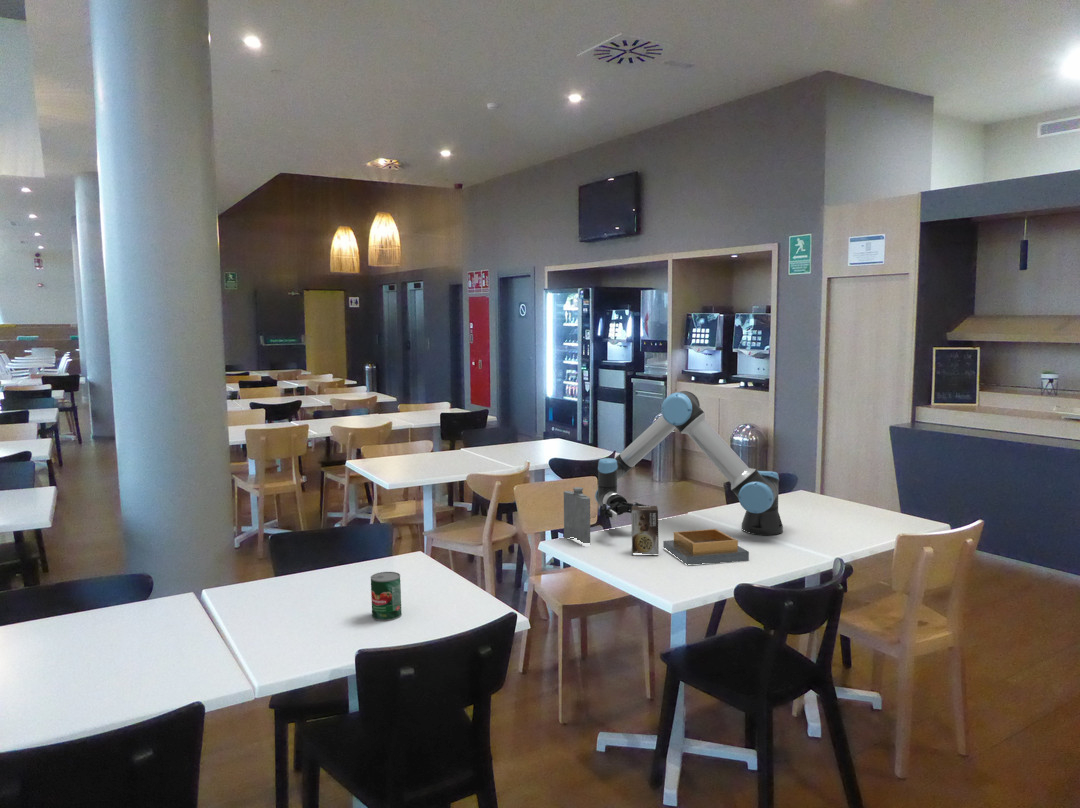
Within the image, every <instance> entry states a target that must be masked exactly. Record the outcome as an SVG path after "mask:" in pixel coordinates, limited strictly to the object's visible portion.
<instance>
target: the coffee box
mask: <svg viewBox="0 0 1080 808" xmlns="http://www.w3.org/2000/svg"><path fill="white" fill-rule="evenodd" d="M630 514H631V554H632V553H642V554H659V548H660V547H659V507H658V506H657V505H649V506H648V505H647V506H632V507H631V513H630ZM659 555H660V554H659Z"/></svg>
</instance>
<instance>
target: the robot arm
mask: <svg viewBox="0 0 1080 808" xmlns="http://www.w3.org/2000/svg"><path fill="white" fill-rule="evenodd" d="M660 411H661V416H659V417H657V419H656V420H655V421H654V422H653V423H652V424H650V426H648V427H647V428H646V429H645V430H644V431H643V432H642V433H641V434H640V435H639V436H638V437H637V438H635V439H634V440H633V441H632V442H631V443H630V444H629V445H628V446H626V448H625V449H623V450H622V451H621V453H619V454H618V455H617V456H616V457H614V458H611V457H610V458H609V457H605V458H600V459H599V460H598V464H597V472H598V473H597V478H598V479H597V484H598V485H597V490H596V491H595V494H594V496H595V497H594V498H595V500H596V502H597V503H598V505H599V506H601V509H600V517H605V519H607V520H609V519H611V520H613V521H614V522H618V516H621V515H623V514H626V513H627V514H632V513H631V507H632V506H650V505H647V504H644V503H643V504H642V503H638V502H636V501H635V502H633V503H632V502H628V500H627V499H626V498H625V497H624V496H622V495H621V494H619V493H618V479H620V478H622V477H624V476H626V475H627V474H628V473H629V471H630V470H632V469H633V467H634V466H635V465H637V464H638V463H639V462H640V461H642V459H644V457H646V456H647V455H648V454H649V453H650V452H651V451H652V450H654V449H655V447H657V446H658V445H659V444H660V443H662V441H663V440H665V439H666V438H667V436H669V435H670V434H671V433H672V432H673V431H675V429H677V431H679V433H680V434H681V435H682V434H683V435H684V434H685V435H687V436H688V437H689V438H690V439H691V440H692V441H693V443H694V444H695V445H697V447H698V448H699V449H700V450H701V452H702V453H704V454H705V456H706V457H707V458H708V459H709V460H710V462H712V463H713V465H714V466H715V467H716V468H717V469H718V471H720V473H722V475H723V476H724V477H725V478H726V479H727V480H728V482H729V483H730V490H731V491H732V492H733V494H735V496H736V497H737V499H738V501H739V504H740V505H741V508H743V509H744V510H745V514H744V516H743V520H742V522H741V530H742V529H743V530H745V531H747V532H750V533H749V534H751V533H754V534H753V535H757V534H762V535H761V536H774V534H776V535H780V534H782V533H783V532H784V527H783V526H784V525H783V522H782V520H781V516H780V513H779V483H780V482H779V481H780V478H779V473H778V472H776V471H772V470H770V471H769V470H758V469H756V468H750V467H749V466H748V465H747V464H746V463H745V462H744V461H743V460H742V459H741V457H740V456H739V455H738V454H737V453H736V452H735V450H733V449H732V447H731V446H730V445H729V444H728V443H727V442H726V441H725V440H724V439H723V437H722V436H720V434H719V433H718V432H717V431H716V430H715V429H714V428H713V427H712V425H711V424H710V423H709V422H708V421H707V420H706V417H705V416H706V412H704V411H703V409H702V408H701V405H700V400H699V398H698V397H697V396H696V394H694V393H692V392H691V391H687V390H682V391H678V392H673V393H671V394H669V395H668V396H666V397H665V398H664V400H663V402H662V404H661V410H660ZM743 530H742V531H743ZM747 532H746V533H747ZM779 533H780V534H779Z"/></svg>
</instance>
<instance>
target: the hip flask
mask: <svg viewBox="0 0 1080 808" xmlns="http://www.w3.org/2000/svg"><path fill="white" fill-rule="evenodd" d="M572 490H573V491H572ZM572 490H565V491H563V538H564V539H565V538H570V537H574V538H577V540H580V541H581V542H583V543H590V544H591V497H590V496H588V495H586V494H584V492H583V491H584V487H581V486H579V487H577V486H576V487H573V488H572ZM574 538H570V539H574Z"/></svg>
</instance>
